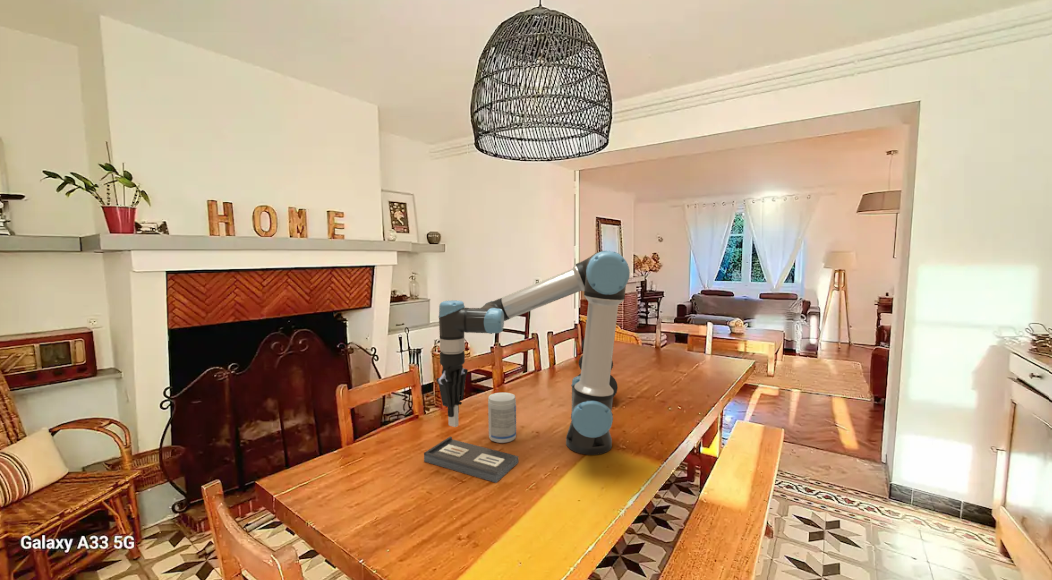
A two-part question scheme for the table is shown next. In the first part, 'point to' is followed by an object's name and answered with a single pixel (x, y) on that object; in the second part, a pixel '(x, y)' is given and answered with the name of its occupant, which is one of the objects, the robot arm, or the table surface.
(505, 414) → the supplement tub
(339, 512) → the table surface
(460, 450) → the label
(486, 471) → the label board
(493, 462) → the label
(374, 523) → the table surface
